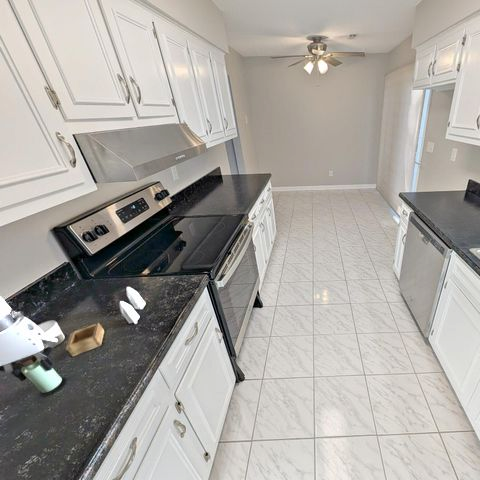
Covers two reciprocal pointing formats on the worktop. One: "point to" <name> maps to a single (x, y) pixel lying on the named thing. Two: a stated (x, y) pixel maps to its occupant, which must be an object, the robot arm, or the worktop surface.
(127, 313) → the shaker set
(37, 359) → the bottle
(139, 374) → the worktop surface
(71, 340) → the box
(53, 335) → the white cup
